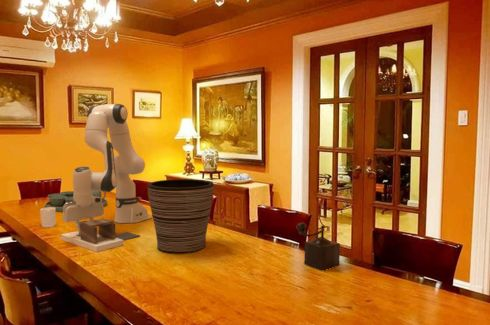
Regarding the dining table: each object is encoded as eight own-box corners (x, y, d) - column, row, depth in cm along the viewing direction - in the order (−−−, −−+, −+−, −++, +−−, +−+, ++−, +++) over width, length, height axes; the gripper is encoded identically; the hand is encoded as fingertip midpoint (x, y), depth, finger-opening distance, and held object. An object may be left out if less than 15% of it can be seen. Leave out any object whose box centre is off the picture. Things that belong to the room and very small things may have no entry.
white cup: (50, 228, 225) (49, 210, 224) (37, 227, 227) (36, 209, 226) (59, 224, 233) (58, 207, 232) (47, 224, 234) (46, 206, 233)
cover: (101, 234, 202) (101, 218, 201) (115, 238, 195) (115, 221, 194) (80, 238, 194) (80, 221, 193) (94, 243, 186) (94, 225, 185)
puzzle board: (87, 233, 214) (87, 229, 213) (123, 245, 193) (123, 239, 193) (61, 239, 203) (60, 234, 202) (96, 252, 183) (96, 246, 182)
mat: (127, 232, 216) (127, 232, 216) (140, 236, 209) (140, 235, 209) (108, 237, 207) (108, 236, 207) (121, 241, 200) (121, 240, 200)
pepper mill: (319, 258, 175) (320, 217, 173) (340, 265, 166) (341, 222, 165) (293, 266, 165) (294, 222, 164) (313, 274, 157) (314, 228, 155)
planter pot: (150, 259, 173) (149, 189, 170) (147, 240, 202) (146, 180, 199) (219, 253, 181) (219, 186, 178) (207, 236, 210) (207, 178, 207)
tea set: (45, 204, 295) (44, 181, 294) (103, 200, 312) (102, 178, 311) (44, 215, 259) (43, 189, 258) (110, 209, 277) (109, 185, 275)
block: (86, 234, 205) (85, 220, 205) (90, 235, 203) (90, 221, 202) (78, 236, 202) (78, 222, 202) (83, 237, 200) (82, 223, 199)
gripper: (66, 204, 191) (67, 233, 192) (105, 197, 207) (106, 224, 208) (59, 202, 195) (60, 231, 196) (98, 196, 211) (99, 222, 212)
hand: (84, 227), depth 202 cm, fingers closed on block, 4 cm apart
